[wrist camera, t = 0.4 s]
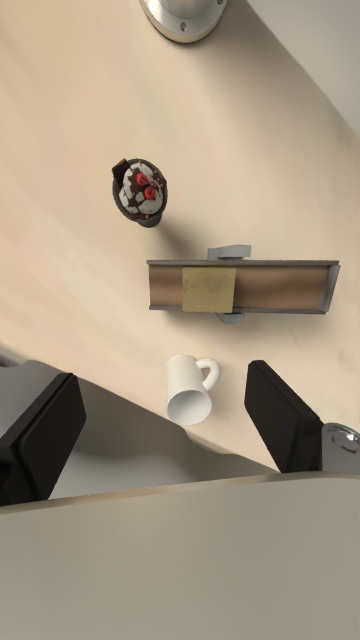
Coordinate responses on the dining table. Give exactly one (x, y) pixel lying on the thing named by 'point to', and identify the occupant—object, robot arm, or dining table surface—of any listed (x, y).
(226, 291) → the block
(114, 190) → the sundae
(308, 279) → the beam
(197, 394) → the mug
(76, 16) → the dining table surface
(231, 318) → the pivot stand
